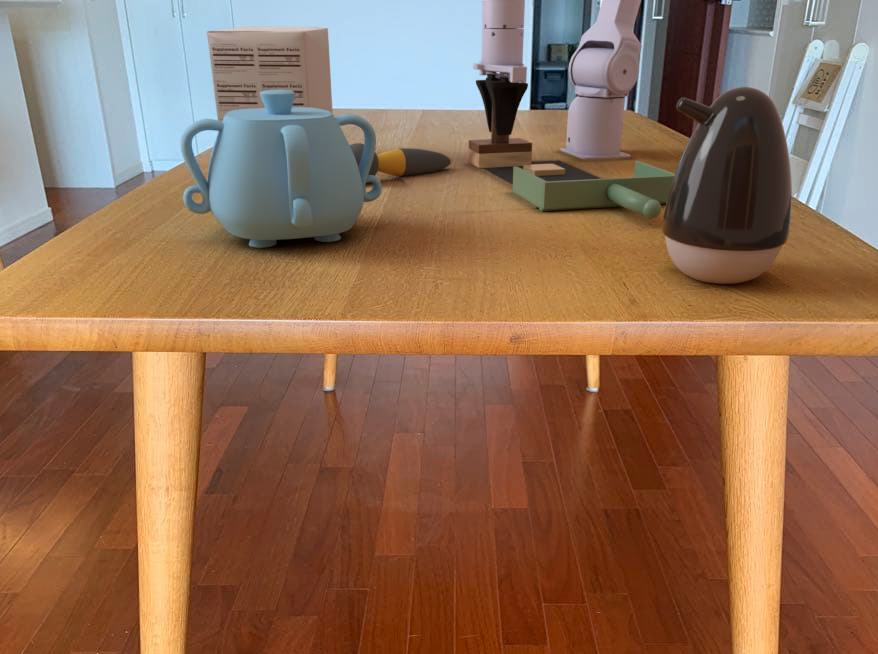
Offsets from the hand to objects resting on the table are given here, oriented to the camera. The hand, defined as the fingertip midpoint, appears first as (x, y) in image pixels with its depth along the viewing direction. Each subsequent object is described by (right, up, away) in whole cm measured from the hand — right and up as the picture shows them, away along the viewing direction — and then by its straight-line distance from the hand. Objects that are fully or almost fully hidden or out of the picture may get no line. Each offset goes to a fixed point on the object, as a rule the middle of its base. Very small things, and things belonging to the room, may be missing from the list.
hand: (499, 133), depth 116 cm
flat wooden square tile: (+6, -7, -4) cm, 10 cm away
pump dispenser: (+16, -28, -46) cm, 56 cm away
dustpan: (+12, -16, -22) cm, 30 cm away
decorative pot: (-23, -22, -34) cm, 46 cm away
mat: (+5, -7, -4) cm, 10 cm away
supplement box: (-32, -3, +4) cm, 32 cm away
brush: (0, -4, +2) cm, 4 cm away
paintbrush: (-15, -8, -7) cm, 19 cm away
